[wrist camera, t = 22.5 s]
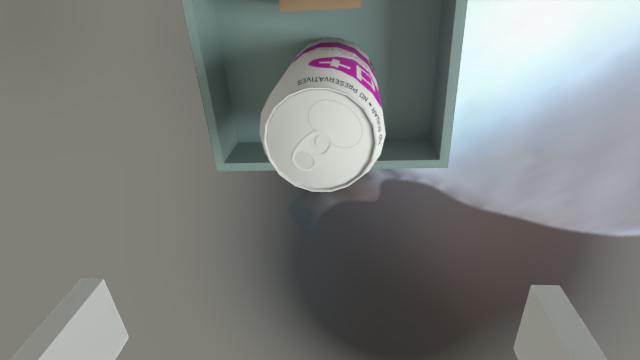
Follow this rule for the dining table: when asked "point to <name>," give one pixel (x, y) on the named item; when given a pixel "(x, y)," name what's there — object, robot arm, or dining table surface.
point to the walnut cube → (317, 4)
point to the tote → (312, 25)
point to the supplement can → (324, 117)
